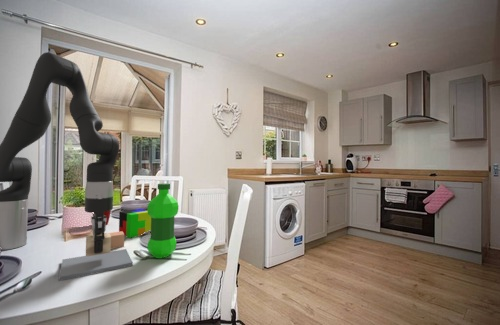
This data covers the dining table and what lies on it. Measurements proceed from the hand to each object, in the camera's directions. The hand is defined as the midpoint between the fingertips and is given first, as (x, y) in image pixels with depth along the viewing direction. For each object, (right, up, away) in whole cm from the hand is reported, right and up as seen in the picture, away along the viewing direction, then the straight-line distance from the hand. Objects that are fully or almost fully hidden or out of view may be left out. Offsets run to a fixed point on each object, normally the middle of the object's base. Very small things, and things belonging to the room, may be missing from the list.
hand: (97, 249), depth 75 cm
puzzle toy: (-4, -5, +34) cm, 34 cm away
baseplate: (0, -5, 0) cm, 5 cm away
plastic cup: (-29, -5, +47) cm, 55 cm away
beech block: (0, -1, 0) cm, 1 cm away
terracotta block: (-5, -5, +17) cm, 18 cm away
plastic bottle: (+17, -5, +9) cm, 20 cm away
